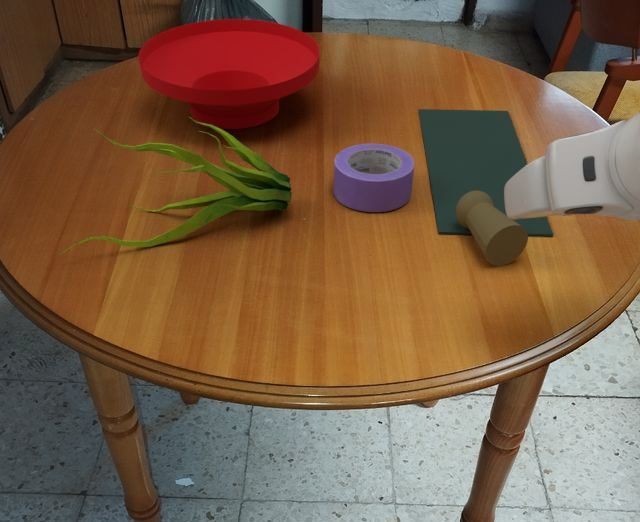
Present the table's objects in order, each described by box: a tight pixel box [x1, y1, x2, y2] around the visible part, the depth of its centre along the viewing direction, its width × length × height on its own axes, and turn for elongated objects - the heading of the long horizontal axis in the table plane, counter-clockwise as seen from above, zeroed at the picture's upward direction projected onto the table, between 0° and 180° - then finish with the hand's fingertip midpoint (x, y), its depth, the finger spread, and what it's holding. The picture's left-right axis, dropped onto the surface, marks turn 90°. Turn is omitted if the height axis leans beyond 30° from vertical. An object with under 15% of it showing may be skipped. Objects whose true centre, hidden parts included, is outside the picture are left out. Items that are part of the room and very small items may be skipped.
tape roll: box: [333, 143, 415, 213], centre depth 100 cm, size 12×12×5 cm
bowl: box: [137, 18, 321, 130], centre depth 117 cm, size 30×30×10 cm
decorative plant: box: [58, 115, 293, 256], centre depth 89 cm, size 18×30×15 cm, turn 89°
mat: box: [418, 108, 554, 238], centre depth 108 cm, size 40×16×1 cm, turn 178°
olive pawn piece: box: [455, 191, 529, 267], centre depth 91 cm, size 6×6×11 cm
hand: (572, 208), depth 76 cm, fingers closed
